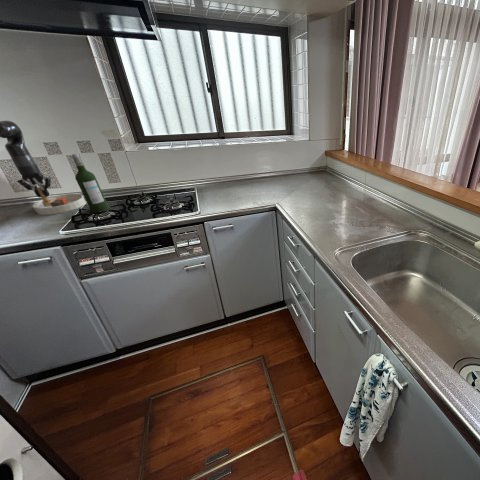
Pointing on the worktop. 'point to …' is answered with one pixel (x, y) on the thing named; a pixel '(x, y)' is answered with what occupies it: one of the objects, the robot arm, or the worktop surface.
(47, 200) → the muddler
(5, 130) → the robot arm
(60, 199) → the terracotta block
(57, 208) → the bowl
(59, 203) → the walnut block
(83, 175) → the wine bottle
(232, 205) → the worktop surface
